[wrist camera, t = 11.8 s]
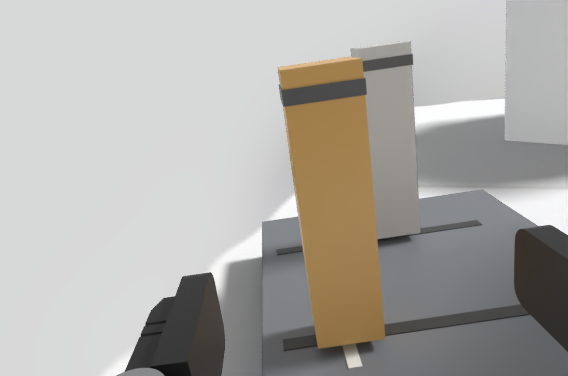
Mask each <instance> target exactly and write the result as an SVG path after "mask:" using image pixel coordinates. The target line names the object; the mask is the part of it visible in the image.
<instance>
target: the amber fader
mask: <svg viewBox="0 0 568 376" xmlns="http://www.w3.org/2000/svg"><path fill="white" fill-rule="evenodd" d="M278 74H279V81H280V84H279V90H280V97H281V101H282V104H283V110H284V117H285V125H286V132H287V139H288V145H289V153H290V161H291V167H292V175H293V182H294V189H295V197H296V204H297V211H298V218H299V225H300V233H301V240H302V247H303V254H304V261H305V269H306V276H307V283H308V290H309V297H310V305H311V312H312V318H313V324H314V329H315V335H316V340H317V345H318V349H320V348H327V347H334V346H341V345H348V344H354V343H361V342H368V341H375V340H381V339H385V327H384V315H383V303H382V291H381V279H380V267H379V255H378V242H377V230H376V218H375V206H374V194H373V182H372V170H371V158H370V145H369V133H368V121H367V109H366V97H365V95H367V89H366V78H364V73H363V61H362V58H355V57H345V58H338V59H331V60H324V61H318V62H311V63H304V64H297V65H290V66H284V67H278Z"/></svg>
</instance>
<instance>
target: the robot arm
mask: <svg viewBox="0 0 568 376" xmlns="http://www.w3.org/2000/svg"><path fill="white" fill-rule="evenodd" d="M514 288H515V293H516V296H517V298H518V301H519V302H520V304H521V305H522V307H523V308H524V309H525V310H526V311H527V312H528V313H529V314H530V315H531V316H532V317H533V318H534V319H535V320H536V321H537V322H538V323H539V324H540V325H541V326H542V327H543V328H544V329H545V330H546V331H547V332H548V333H549V334H550V335H551V336H552V337H553V338H554V339H555V340H556V341H557V342H558V343H559V344H560V345H561V346H562V347H563V348H564V349H565V350H566V351H567V352H568V235H566V234H565V233H563V232H562V231H560V230H558V229H557V228H555V227H553V226H551V225H545V226H538V227H531V228H524V229H519V230H518V231H517V233H516V235H515V251H514ZM224 350H225V334H224V326H223V321H222V316H221V311H220V306H219V301H218V296H217V291H216V286H215V282H214V278H213V275H212V273H211V272H210V273H203V274H196V275H190V276H183V277H182V279H181V282H180V285H179V287H178V290H177V293H176V296H175V297H168V298H164V299H163V300H162V301H160V302H159V303H158V304H157V305H156V306H155V307H154V308H153V309H152V310H151V312H150V314H149V317H148V319H147V321H146V326H144V329H143V330H142V333H141V337H139V340H138V342H137V344H136V347H135V349H134V351H133V354H132V356H131V358H130V361H129V363H128V365H127V368H126V370H125V372H123V373H121V374H119V375H117V376H221V373H222V365H223V358H224Z"/></svg>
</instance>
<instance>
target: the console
mask: <svg viewBox="0 0 568 376" xmlns="http://www.w3.org/2000/svg"><path fill="white" fill-rule="evenodd" d="M419 217H420V233H416V234H409V235H403V236H396V237H389V238H382V239H377V242H378V255H379V267H380V279H381V291H382V303H383V315H384V327H385V339H381V340H375V341H368V342H361V343H354V344H348V345H341V346H334V347H327V348H320V349H318V345H317V340H316V335H315V329H314V324H313V318H312V312H311V305H310V297H309V290H308V283H307V276H306V269H305V261H304V254H303V247H302V240H301V233H300V225H299V218H298V217H293V218H286V219H279V220H272V221H266V222H262V376H568V352H567V351H566V350H565V349H564V348H563V347H562V346H561V345H560V344H559V343H558V342H557V341H556V340H555V339H554V338H553V337H552V336H551V335H550V334H549V333H548V332H547V331H546V330H545V329H544V328H543V327H542V326H541V325H540V324H539V323H538V322H537V321H536V320H535V319H534V318H533V317H532V316H531V315H530V314H529V313H528V312H527V311H526V310H525V309H524V308H523V307H522V305H521V304H520V302H519V301H518V298H517V296H516V293H515V288H514V251H515V235H516V233H517V231H518V230H519V229H524V228H531V227H538V226H537V225H536V224H534V223H533V222H531V221H529V220H528V219H526V218H525V217H523V216H522V215H520V214H519V213H517V212H516V211H514V210H513V209H511V208H510V207H508V206H506V205H505V204H503V203H502V202H500V201H499V200H497V199H496V198H494V197H493V196H491V195H490V194H488V193H487V192H485V191H484V190H477V191H470V192H463V193H456V194H449V195H442V196H436V197H429V198H422V199H419Z"/></svg>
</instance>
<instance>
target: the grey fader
mask: <svg viewBox="0 0 568 376" xmlns="http://www.w3.org/2000/svg"><path fill="white" fill-rule="evenodd" d="M351 57H355V58H362V61H363V73H364V78H366V89H367V95H365V97H366V109H367V121H368V133H369V145H370V158H371V170H372V182H373V194H374V206H375V218H376V230H377V239H382V238H389V237H396V236H403V235H409V234H416V233H420V217H419V197H418V177H417V157H416V137H415V117H414V98H413V81H412V80H413V78H412V65H413V55H412V54H411V41H407V42H393V43H386V44H379V45H372V46H366V47H359V48H352V49H351Z"/></svg>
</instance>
